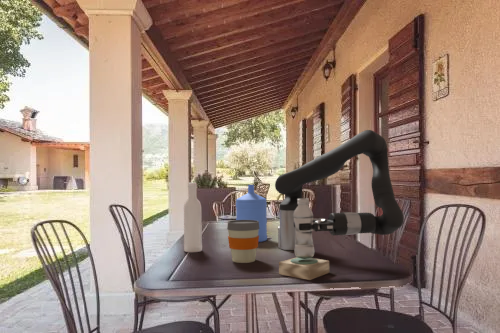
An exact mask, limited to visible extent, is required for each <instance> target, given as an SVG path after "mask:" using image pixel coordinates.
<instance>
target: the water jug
mask: <svg viewBox="0 0 500 333" xmlns="http://www.w3.org/2000/svg"><path fill="white" fill-rule="evenodd" d="M247 187H248V188H247V193H246V194H243V195H241V196H240V197H237V198H236V200H235V209H236V211H235V215H236V217H235V218H236V219H235V220H256V221H259V228H260V229H259V231H258V236H259V240H258V243H262V242H266V241H267V240H268V233H267V229H268V228H267V227H268V225H267V223H268V218H267V216H268V215H267V198H266V197H263V196H261V195H259V194H257V193H255V184H248V185H247Z"/></svg>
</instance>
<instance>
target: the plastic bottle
mask: <svg viewBox="0 0 500 333" xmlns="http://www.w3.org/2000/svg"><path fill="white" fill-rule="evenodd" d="M309 199H310V198H308V197H304V198H303V197H302V198H299V199H297V204H298V207H297V208H296V209H295V211H294V214H293V216H294V222H295V230H296V240H295V248H294V250H293V251H294V255H295V257H297V258H301V259H308V258H314V255H315V247H314V246H315V245H314V241H313V231H311V229H310V230H299V224H300V223H310V224H311V223H312V222H313V219H314V214H313V211H312V209H311V207H310V206H309V204H310V203H309V202H310V201H309Z"/></svg>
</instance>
